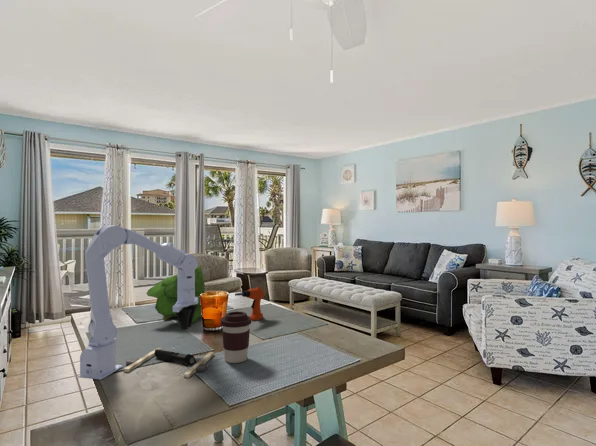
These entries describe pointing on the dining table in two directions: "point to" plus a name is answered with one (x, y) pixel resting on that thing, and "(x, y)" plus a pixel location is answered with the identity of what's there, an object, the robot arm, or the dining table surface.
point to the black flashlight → (175, 357)
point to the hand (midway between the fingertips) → (186, 328)
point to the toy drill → (256, 296)
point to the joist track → (136, 362)
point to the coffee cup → (235, 336)
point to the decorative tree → (175, 295)
